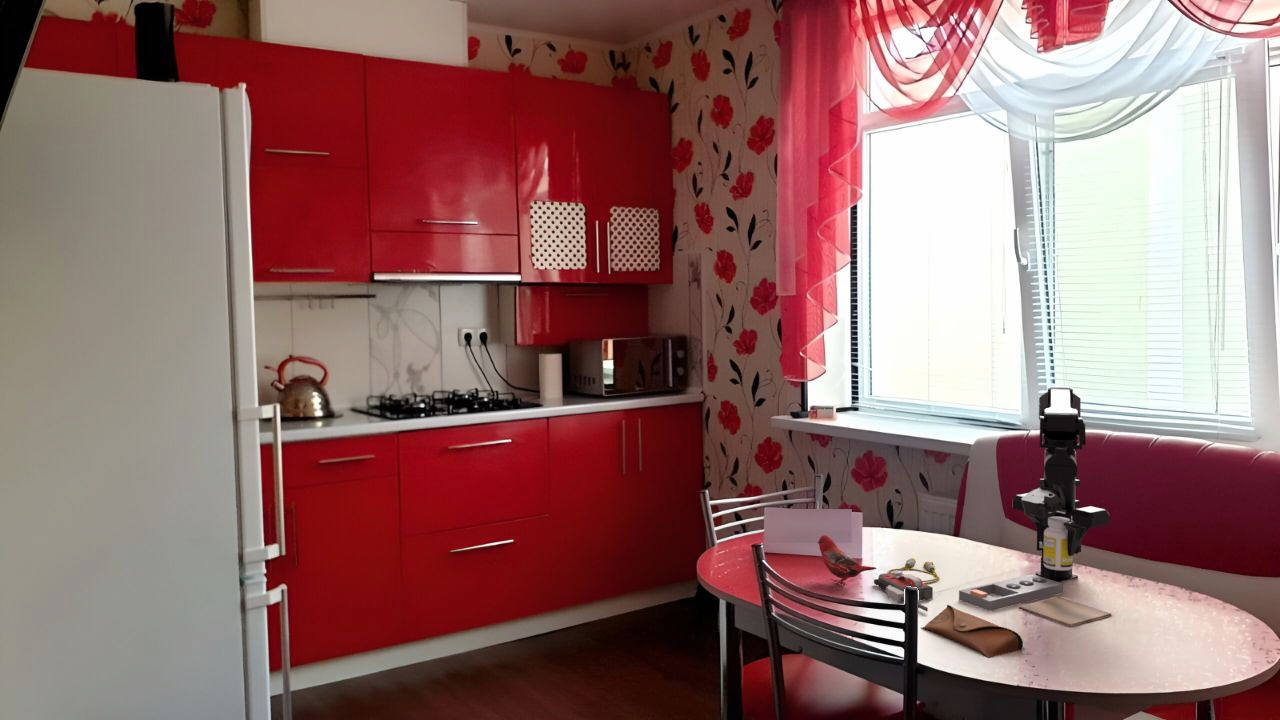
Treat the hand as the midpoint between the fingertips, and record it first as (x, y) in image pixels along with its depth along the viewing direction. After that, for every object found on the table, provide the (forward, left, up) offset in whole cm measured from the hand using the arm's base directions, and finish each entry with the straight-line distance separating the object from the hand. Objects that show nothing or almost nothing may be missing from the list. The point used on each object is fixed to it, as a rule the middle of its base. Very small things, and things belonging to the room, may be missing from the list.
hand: (1058, 552), depth 190 cm
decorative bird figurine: (+25, -34, -12) cm, 44 cm away
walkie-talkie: (+19, -21, -13) cm, 31 cm away
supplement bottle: (0, 0, -3) cm, 3 cm away
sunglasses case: (+26, +2, -13) cm, 29 cm away
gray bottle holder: (0, -11, -12) cm, 16 cm away
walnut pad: (-1, +1, -12) cm, 12 cm away
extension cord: (+7, -32, -13) cm, 35 cm away
